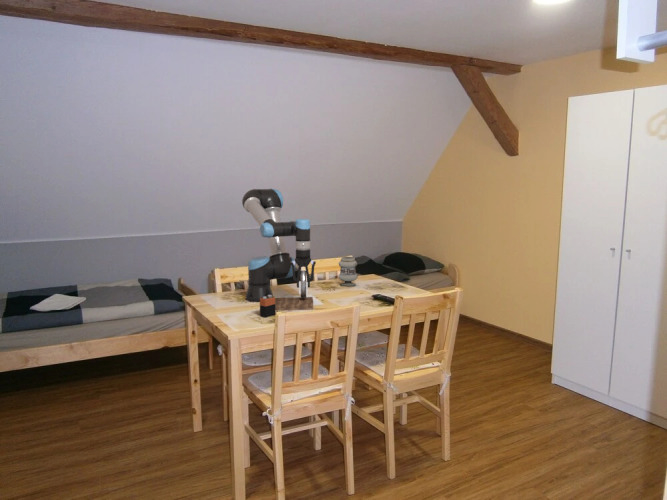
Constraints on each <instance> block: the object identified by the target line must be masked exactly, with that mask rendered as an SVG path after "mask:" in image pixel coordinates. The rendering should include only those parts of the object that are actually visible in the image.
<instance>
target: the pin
mask: <svg viewBox="0 0 667 500" xmlns="http://www.w3.org/2000/svg"><path fill="white" fill-rule="evenodd" d="M299 281H300V282H301V294H300V297H301V298H306V297H307V294H306V281H307V274H306V269H305V270H302V269H301V271H300V278H299Z"/></svg>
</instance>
